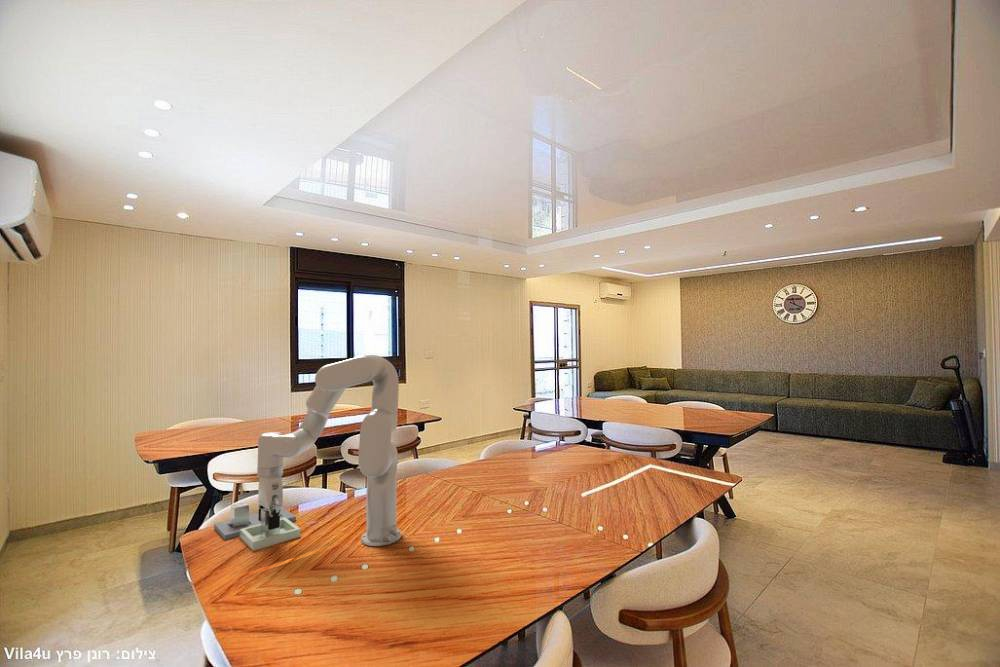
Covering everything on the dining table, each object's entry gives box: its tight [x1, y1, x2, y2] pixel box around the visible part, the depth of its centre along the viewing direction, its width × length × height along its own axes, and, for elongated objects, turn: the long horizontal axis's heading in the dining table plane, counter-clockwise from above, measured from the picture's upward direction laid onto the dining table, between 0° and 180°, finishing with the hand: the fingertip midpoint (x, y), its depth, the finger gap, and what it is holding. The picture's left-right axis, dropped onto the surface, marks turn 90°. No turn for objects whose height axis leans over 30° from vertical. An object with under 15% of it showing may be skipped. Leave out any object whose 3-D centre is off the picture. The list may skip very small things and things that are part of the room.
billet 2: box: [261, 506, 280, 538], centre depth 142 cm, size 4×4×9 cm
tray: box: [239, 518, 302, 552], centre depth 142 cm, size 14×14×4 cm
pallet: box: [213, 506, 297, 541], centre depth 153 cm, size 14×22×2 cm, turn 135°
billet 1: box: [230, 501, 250, 529], centre depth 149 cm, size 4×4×9 cm
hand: (268, 524), depth 142 cm, fingers open, 9 cm apart
